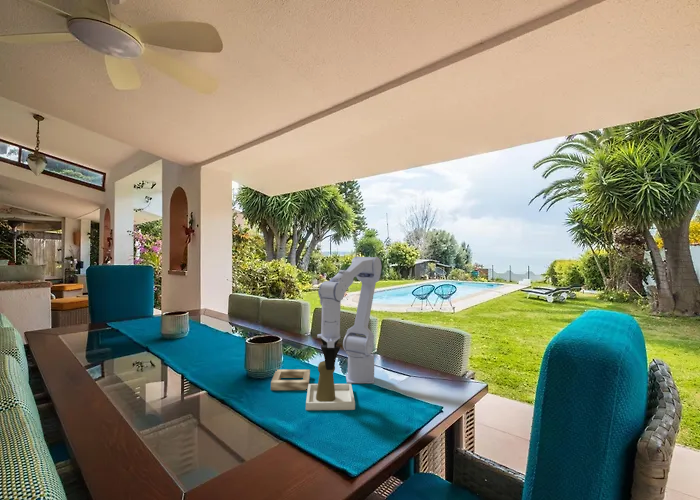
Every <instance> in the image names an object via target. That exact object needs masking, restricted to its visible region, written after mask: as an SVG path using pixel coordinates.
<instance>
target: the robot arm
mask: <svg viewBox="0 0 700 500" xmlns="http://www.w3.org/2000/svg"><path fill="white" fill-rule="evenodd" d="M381 273H382V262H381V259H380V258H379V256H374V257H373V256H369V257H368V256H354V257H353V258H352V259H351V264H350V266H348V268H347V269H346V270H345V269H340V270H338V272H337V274H335V275H334V276H333V277H331V279H330V280H329V281H326V280H324V281H323V282H321V284H320V285H319V287H318V290H317V292H318V293H317V294H318V297H319V303H320V306H321V325H320V326H321V330H320V333H318V334H316V335H317V336H316V337H317V339H320V340H321V341H320V342H322V344H321V345H320V349H321V352H322V354H323V358H324V361H325V366H326V370H333V369H334V366H335V365H336V364H335V363H336V360H337V355H338V354H339V352H340V350H341V346H339V345H337V344H338V342H339V341H340V339H341V334H340V333H341V302H342V300H343V299H344V297H345V294H346V292H347V290H348V289H349V288H350V287H351V286H352V285H353V283H354V278H356V280H358V281H359V282H361V287H360V291H359V292H360V293H359V298H358V303H357V307H356V308H357V309H356V313H355V315H356V316H355V319H354V322H353V323H354V325H352V326H351V327H349V328H348V329H347V330H346V332H345V336H344V338H343V342H342V348H343V349H344V351H345V354H346V355H347V373H346V374H345V378H346V379H345V380H346V384H374V383H375V355H374V354H372V353H373V351H374V347H375V343H374V340H375V339H374V338H375V335H374V333H373V332H372V330H370V328H369V323H370V317H371V312H372V305H373V300H374V296H375V295H374V294H375V289H376V283H378V282H379V281H380V279H381ZM335 367H336V366H335Z"/></svg>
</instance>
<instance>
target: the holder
mask: <svg viewBox="0 0 700 500" xmlns="http://www.w3.org/2000/svg"><path fill="white" fill-rule="evenodd" d="M276 370H277V371H276ZM276 370H275V372H274V374H273V376H272V378H271V381H270V391H308V384H310V379H311V369H276ZM281 378H303V379H281ZM306 389H307V390H306Z"/></svg>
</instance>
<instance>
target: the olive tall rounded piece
mask: <svg viewBox="0 0 700 500" xmlns="http://www.w3.org/2000/svg"><path fill="white" fill-rule="evenodd" d="M317 370H318V372H319V375H318V382H317V384H318V387H317V393H316V400H317V401H319V402H332V401H334V400H335V399H336V398H335V388H334V384H335V380H334V372H335V370H336V366H334V369H333V370H326V366H325V360H323V361H319V363H318V365H317Z"/></svg>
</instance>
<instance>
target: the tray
mask: <svg viewBox="0 0 700 500" xmlns="http://www.w3.org/2000/svg"><path fill="white" fill-rule="evenodd" d="M317 387H318V383H309V384H308V390H306V392H307V393H306V398H305V399H306V400H305V411H353V410H356V401H355V396H354V392H353V386H352V383H334V388H335V398H336V399H335V400H334V401H332V402H319V401H317V400H316V393H317Z"/></svg>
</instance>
